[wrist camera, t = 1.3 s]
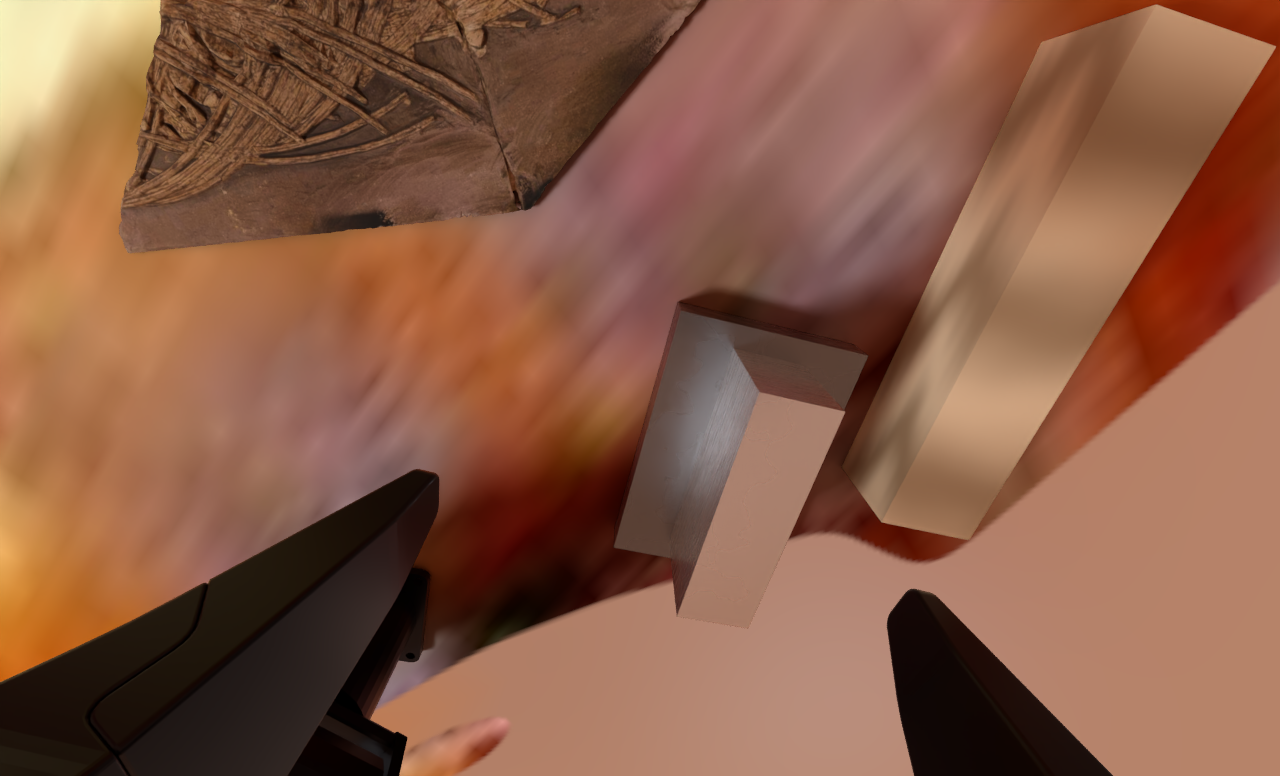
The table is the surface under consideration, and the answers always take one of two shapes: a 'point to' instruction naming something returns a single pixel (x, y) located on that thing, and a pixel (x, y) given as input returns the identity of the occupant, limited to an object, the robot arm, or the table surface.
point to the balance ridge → (731, 454)
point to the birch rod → (1044, 255)
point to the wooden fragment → (371, 110)
